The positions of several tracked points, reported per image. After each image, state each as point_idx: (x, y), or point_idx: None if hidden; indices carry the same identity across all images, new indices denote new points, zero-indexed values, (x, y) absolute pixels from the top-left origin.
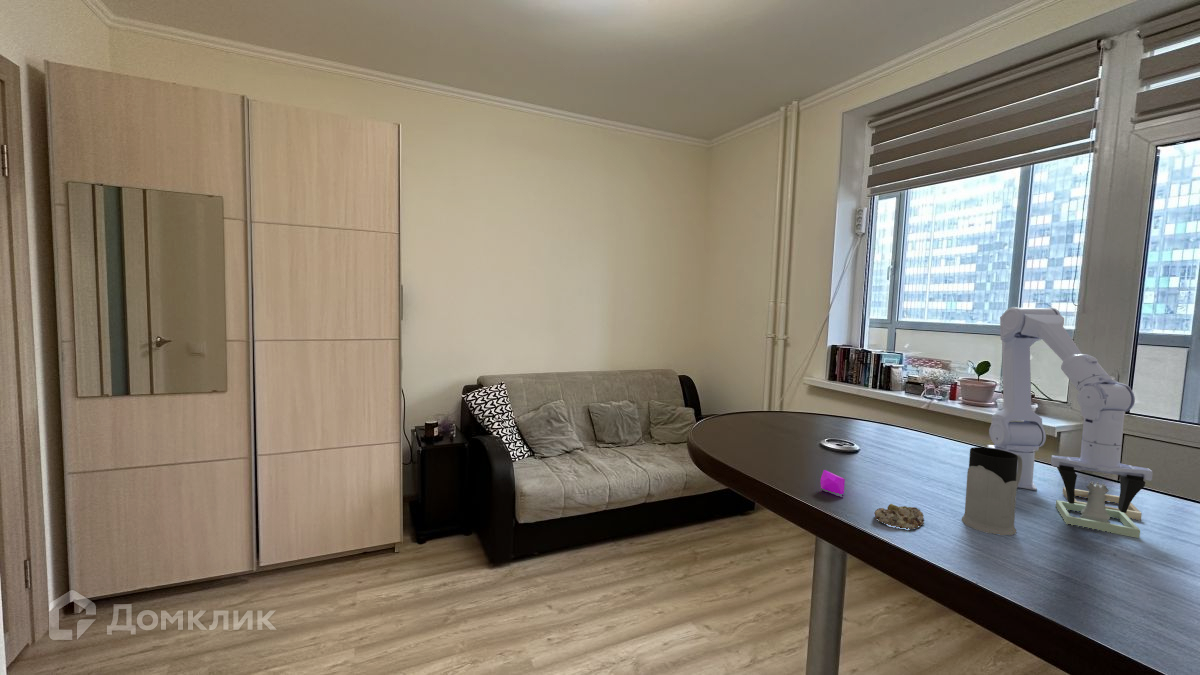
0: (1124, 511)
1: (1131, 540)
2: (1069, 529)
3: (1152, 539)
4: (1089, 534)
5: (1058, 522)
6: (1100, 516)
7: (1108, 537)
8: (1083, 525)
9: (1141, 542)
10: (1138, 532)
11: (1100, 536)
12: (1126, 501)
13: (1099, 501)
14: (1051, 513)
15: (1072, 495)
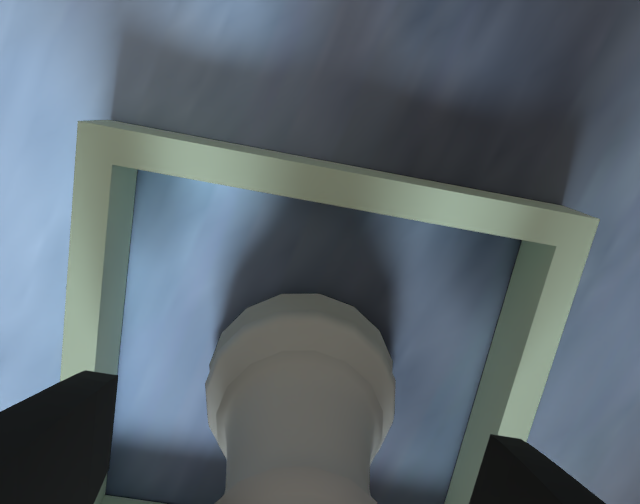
0: (89, 377)
1: (193, 33)
2: (598, 81)
3: (18, 143)
4: (484, 25)
5: (603, 224)
6: (297, 330)
7: (354, 20)
8: (461, 187)
9: (130, 18)
10: (99, 122)
11: (412, 15)
12: (21, 426)
13: (298, 442)
14: (552, 415)
15: (562, 485)
